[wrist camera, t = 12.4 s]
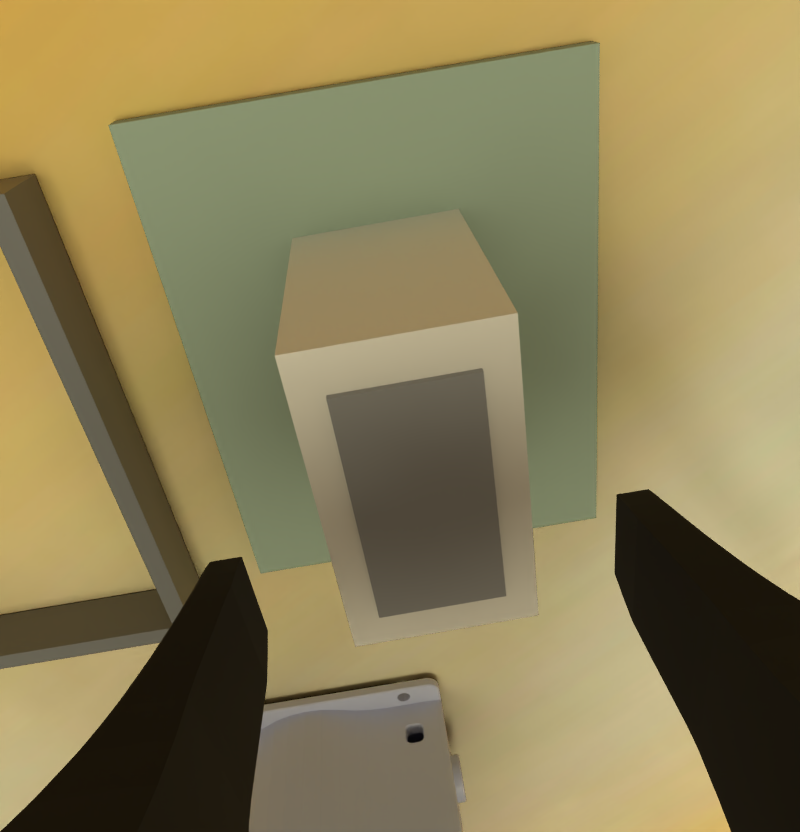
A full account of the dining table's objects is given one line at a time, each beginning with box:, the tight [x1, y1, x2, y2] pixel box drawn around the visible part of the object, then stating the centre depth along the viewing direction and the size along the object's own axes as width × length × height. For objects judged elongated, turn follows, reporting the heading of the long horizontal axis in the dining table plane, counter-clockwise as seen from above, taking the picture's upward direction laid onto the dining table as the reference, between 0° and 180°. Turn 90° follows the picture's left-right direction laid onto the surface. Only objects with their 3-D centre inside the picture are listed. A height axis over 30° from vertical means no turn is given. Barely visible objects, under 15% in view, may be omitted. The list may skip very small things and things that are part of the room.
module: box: [275, 209, 539, 647], centre depth 18 cm, size 4×8×7 cm, turn 9°
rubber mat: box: [109, 41, 600, 573], centre depth 21 cm, size 12×15×1 cm
